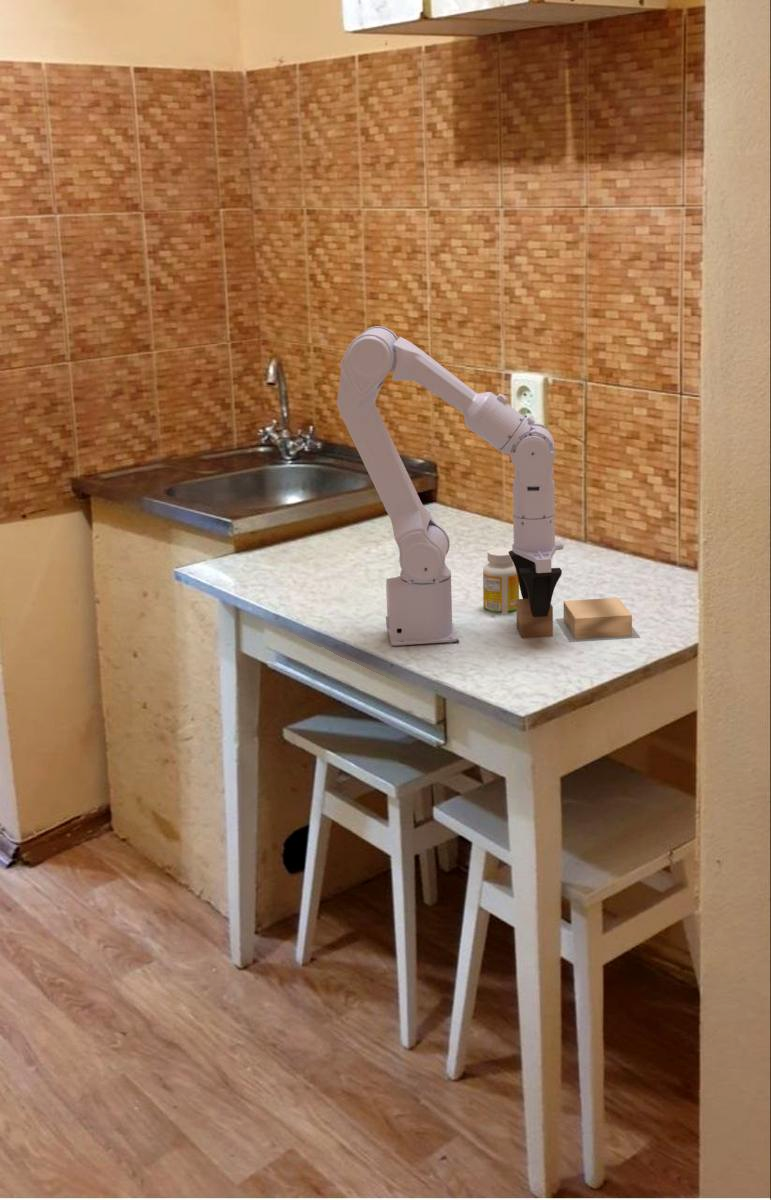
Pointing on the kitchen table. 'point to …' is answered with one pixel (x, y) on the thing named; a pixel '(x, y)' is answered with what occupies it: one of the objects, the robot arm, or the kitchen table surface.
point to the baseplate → (572, 639)
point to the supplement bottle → (500, 583)
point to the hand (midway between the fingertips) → (534, 607)
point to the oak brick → (597, 618)
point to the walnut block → (532, 621)
